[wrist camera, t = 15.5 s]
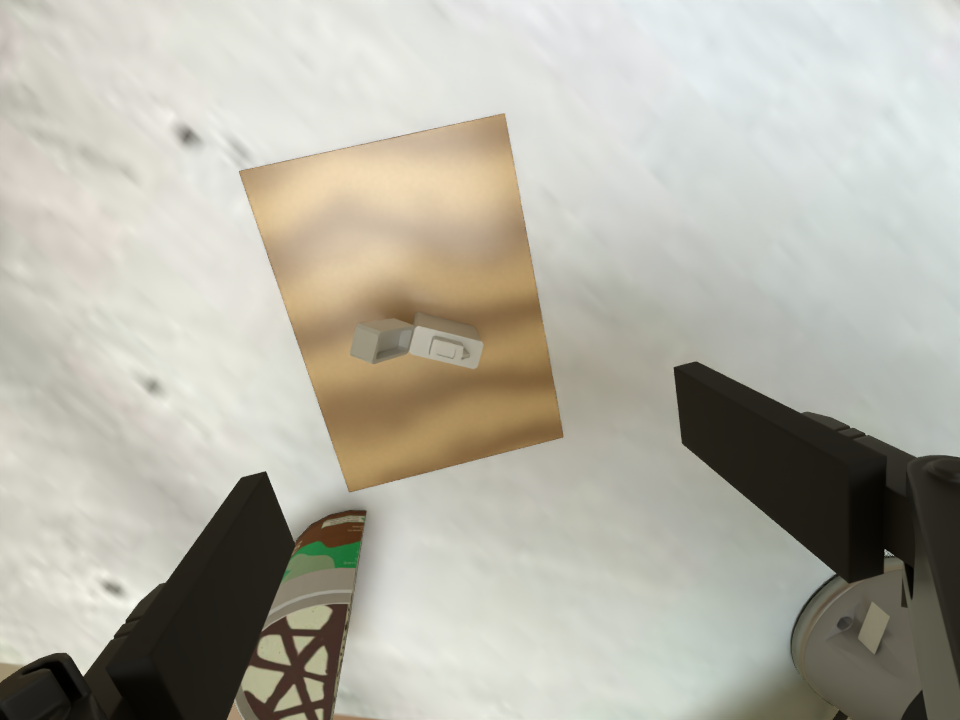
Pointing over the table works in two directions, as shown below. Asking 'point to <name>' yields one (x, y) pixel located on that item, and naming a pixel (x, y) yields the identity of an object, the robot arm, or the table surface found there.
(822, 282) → the table surface
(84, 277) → the table surface
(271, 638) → the food container
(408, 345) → the lighter
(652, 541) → the table surface
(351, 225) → the wooden board
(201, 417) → the table surface
